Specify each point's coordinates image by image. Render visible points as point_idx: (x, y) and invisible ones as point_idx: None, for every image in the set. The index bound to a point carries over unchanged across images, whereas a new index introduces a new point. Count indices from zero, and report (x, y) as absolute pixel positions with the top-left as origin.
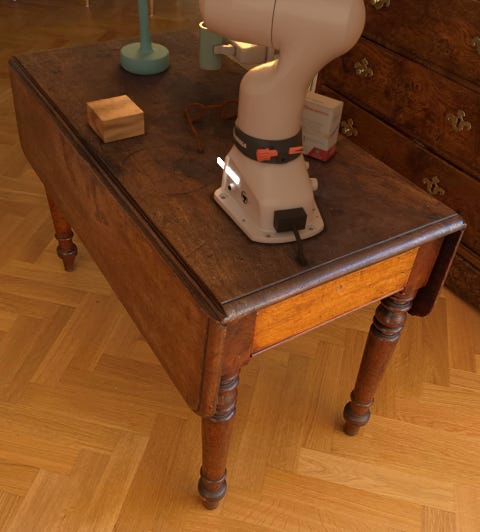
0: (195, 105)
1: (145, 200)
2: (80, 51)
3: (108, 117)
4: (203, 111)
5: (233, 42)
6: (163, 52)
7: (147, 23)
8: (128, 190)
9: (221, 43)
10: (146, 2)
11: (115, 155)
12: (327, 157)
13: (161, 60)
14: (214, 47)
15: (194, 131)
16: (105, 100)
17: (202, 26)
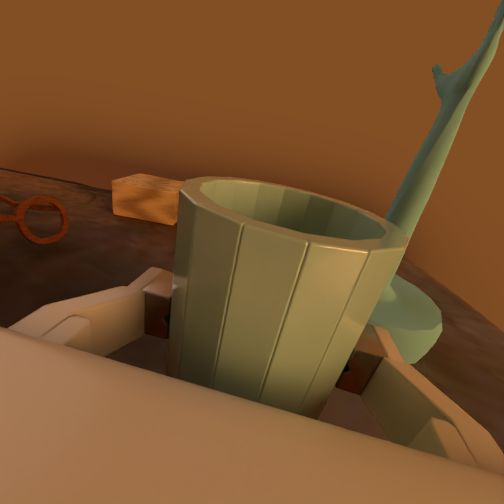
0: (35, 200)
1: (20, 176)
2: (423, 283)
3: (141, 175)
4: (19, 223)
5: (18, 332)
6: None
7: (393, 210)
8: (51, 179)
9: (172, 320)
10: (428, 145)
11: (110, 195)
12: None
13: None
14: (163, 271)
15: (4, 196)
16: (180, 186)
17: (335, 226)
